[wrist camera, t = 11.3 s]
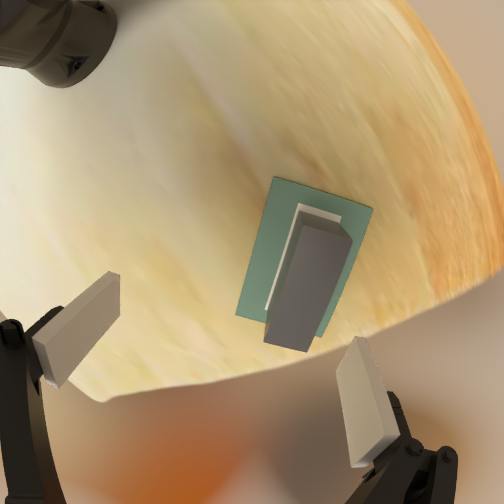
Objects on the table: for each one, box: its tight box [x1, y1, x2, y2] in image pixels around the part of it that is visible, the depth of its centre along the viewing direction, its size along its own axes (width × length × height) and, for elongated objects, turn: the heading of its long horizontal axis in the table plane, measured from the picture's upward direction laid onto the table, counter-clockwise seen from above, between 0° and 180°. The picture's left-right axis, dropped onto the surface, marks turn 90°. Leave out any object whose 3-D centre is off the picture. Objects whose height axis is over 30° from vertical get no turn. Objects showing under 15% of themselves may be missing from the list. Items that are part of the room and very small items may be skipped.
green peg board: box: [235, 177, 373, 337], centre depth 31 cm, size 18×12×6 cm, turn 165°
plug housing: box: [263, 211, 353, 352], centre depth 30 cm, size 13×5×7 cm, turn 165°
